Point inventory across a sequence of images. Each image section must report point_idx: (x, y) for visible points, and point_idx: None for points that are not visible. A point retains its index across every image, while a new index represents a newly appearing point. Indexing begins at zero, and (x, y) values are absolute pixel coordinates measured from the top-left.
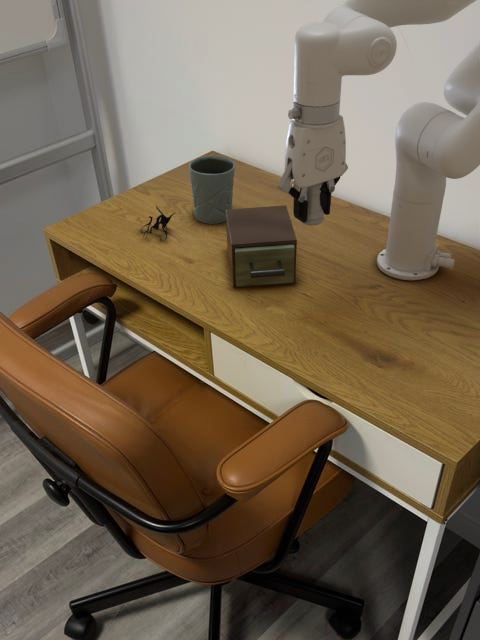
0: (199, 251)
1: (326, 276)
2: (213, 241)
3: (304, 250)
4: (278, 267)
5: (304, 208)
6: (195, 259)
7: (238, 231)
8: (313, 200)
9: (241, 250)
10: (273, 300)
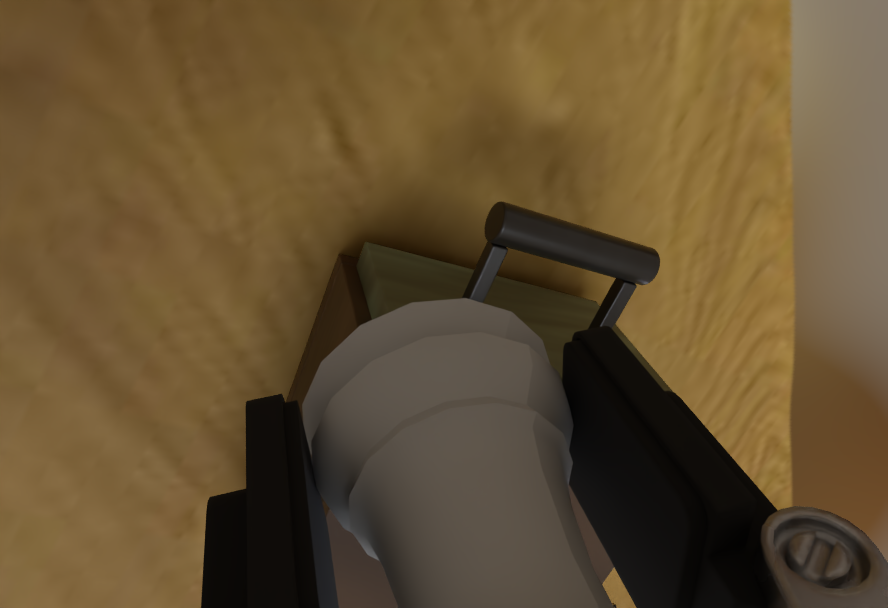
0: None
1: (160, 249)
2: None
3: (175, 467)
4: None
5: (699, 435)
6: None
7: (596, 538)
8: (550, 545)
9: None
10: (501, 164)
